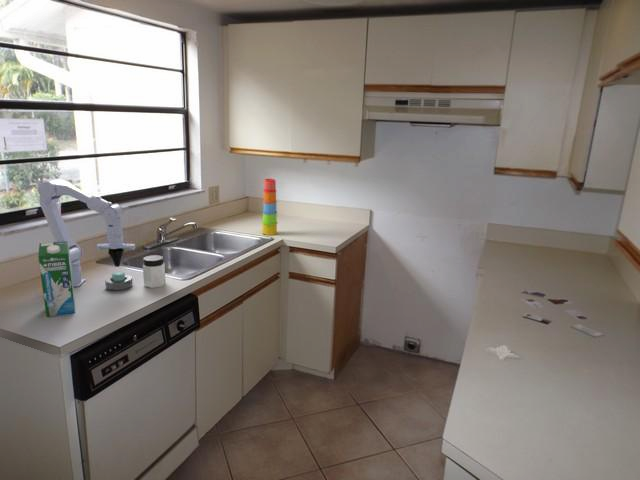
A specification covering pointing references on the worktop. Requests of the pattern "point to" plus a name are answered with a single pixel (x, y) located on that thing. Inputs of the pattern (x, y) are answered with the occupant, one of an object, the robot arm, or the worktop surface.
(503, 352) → the acanthus leaf ornament
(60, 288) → the milk carton
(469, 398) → the worktop surface
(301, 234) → the worktop surface
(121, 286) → the barrel ring
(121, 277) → the mint green cube
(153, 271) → the jar
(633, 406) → the worktop surface
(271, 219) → the stacking cups
